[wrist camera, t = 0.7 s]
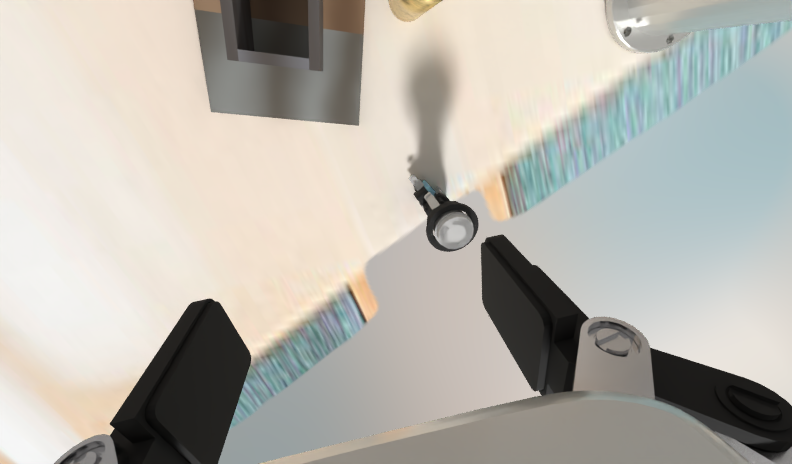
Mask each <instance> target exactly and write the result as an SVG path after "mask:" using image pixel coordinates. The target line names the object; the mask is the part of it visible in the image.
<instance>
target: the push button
mask: <svg viewBox="0 0 792 464" xmlns="http://www.w3.org/2000/svg"><path fill="white" fill-rule="evenodd" d="M409 180H410V181H411V183H412V184H413V186H414V187H415V191H416V192H415V193H414V195H415V197H416V198H417V200H418V201H419V203H420V205H421V206H422V207H423V208H424V211H425V212H426V214H427V215H428V217H427V227H426V233H427V237H428V240H429V242H430V243H431V244H432V245H433V246H434V247H435V248H436V249H438V250H441V251H447V252H448V251H449V252H450V251H456V250H459V249H461V248H463V247H465V246H466V245H468V244H469V243H470V242H471V241H472V240H473V238H474V237H475V235H476V233H477V230H478V218H477V215H476V214H475V212H474V211H473V210H472V209H471V208H470V207H468V206H467V205H464V204H461V203H458V202H456V201H449V199H448V198H447V197H446V196H445V195H444V193H443V192H442V191H441V190H440V189H439V188H438V189H439V191H438V192H437V193H436V192H435V191H434V190H433V189H432V188H431V186H430V185H429V184H428V183H427V182H426V181H425V180H424V181H423V182H422V181H421V180H420V179H419V180H418V178H417V177H416V176H415V175H414V174H412V175H411V176H410V177H409ZM437 187H438V186H437ZM462 211H464V212H466V214H467V215H466V214H464V213H463V212H462ZM433 230H434V232H435V236H434V235H433Z"/></svg>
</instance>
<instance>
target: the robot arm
mask: <svg viewBox="0 0 792 464" xmlns="http://www.w3.org/2000/svg"><path fill="white" fill-rule="evenodd" d="M606 18H607V22H608V27H609V30H610V32H611V34H612V36H613V38H614V39H615V40H616V42H617V43H618V44H619V45H620V46H621V47H623V48H624V49H626V50H628V51H631V52H634V53H651V52H658V51H661V50H664V49H667V48H669V47H671V46H673V45H674V44H676V43H678V42H679V41H681V40H682V39H683V38H685V37H686V36H687V35H689V34H690V33H691V32H694V31H703V30H712V29H720V28H729V27H738V26H747V25H756V24H764V23H773V22H782V21H791V20H792V0H606ZM481 265H482V300H483V304H484V307H485V309H486V311H487V312H488V314H489V316H490V318H491V320H492V321H493V323H494V325H495V326H496V328H497V330H498V332H499V333H500V335H501V337H502V338H503V340H504V342H505V344H506V345H507V347H508V349H509V350H510V352H511V354H512V355H513V357H514V359H515V361H516V362H517V364H518V366H519V368H520V369H521V371H522V373H523V374H524V376H525V378H526V380H527V381H528V383H529V385H530V386H531V388H532V389H533V390H534V391H538V390H539V392H540V394H541V395H542V396H538V397H532V398H528V399H523V400H519V401H514V402H510V403H505V404H501V405H496V406H492V407H487V408H483V409H479V410H474V411H470V412H466V413H462V414H458V415H454V416H450V417H445V418H441V419H437V420H433V421H429V422H425V423H421V424H417V425H413V426H408V427H404V428H400V429H396V430H392V431H388V432H384V433H380V434H376V435H372V436H368V437H364V438H359V439H356V440H351V441H347V442H343V443H339V444H335V445H331V446H327V447H323V448H319V449H315V450H311V451H307V452H303V453H299V454H295V455H291V456H287V457H283V458H280V459H275V460H271V461H268V462H263V463H260V464H792V406H791V405H790V404H789V403H788V402H787V401H786V400H784V399H783V398H782V397H780V396H779V395H778V394H776V393H775V392H773V391H772V390H770V389H768V388H766V387H765V386H763V385H761V384H759V383H756V382H754V381H751V380H749V379H746V378H743V377H740V376H737V375H734V374H731V373H727V372H725V371H721V370H718V369H715V368H712V367H709V366H705V365H703V364H699V363H696V362H693V361H690V360H687V359H684V358H681V357H678V356H674V355H671V354H668V353H665V352H662V351H658V350H655V349H652V348H650V346H649V343H648V340H647V339H646V338H645V337H644V335H643V334H642V333H641V332H640V331H639V330H637V329H636V328H635V327H633V326H632V325H630V324H628V323H626V322H624V321H621V320H618V319H615V318H610V317H594V318H591V319H589V318H588V317H587V316H586V315H585V314H584V313H583V312H582V311H581V310H580V309H579V308H578V307H577V306H576V305H575V304H574V303H573V302H572V301H571V299H570V298H569V297H568V296H567V295H566V294H565V293H563V291H562V290H561V289H560V288H559V287H558V286H557V285H556V284H555V283H554V282H553V281H552V280H551V279H550V278H549V277H548V276H547V275H546V274H545V273H544V272H543V271H542V270H541V269H540V268H539V267H538V266H536V265H532V264H531V263H530V262H529V261H528V260H527V259H526V258H525V257H524V256H523V255H522V254H521V253H520V252H519V251H518V250H517V249H516V248H515V247H514V245H513V244H512V243H511V242H510V241H509V240H508V239H507V238H506V237H505V236H504V235H498V236H493V237H488V238H486V240H485V242H484V243H482V244H481ZM250 363H251V355H250V352H249V350H248V349H247V347H246V345H245V344H244V342H243V340H242V339H241V337H240V335H239V334H238V332H237V330H236V329H235V327H234V326H233V324H232V322H231V321H230V319H229V317H228V316H227V314H226V312H225V311H224V309H223V307H222V306H221V304H220V303H219V302H215V301H214V300H213V299H205V300H201V301H196V302H192V303H191V304H190V305H189V306H188V307H187V309H186V310H185V312H184V313H183V315H182V316H181V318H180V319H179V321H178V322H177V324H176V325H175V327H174V328H173V330H172V331H171V333H170V334H169V336H168V337H167V339H166V340H165V342H164V343H163V345H162V346H161V348H160V349H159V351H158V352H157V354H156V355H155V357H154V358H153V360H152V361H151V363H150V364H149V366H148V367H147V369H146V370H145V372H144V373H143V375H142V376H141V378H140V379H139V381H138V382H137V384H136V385H135V387H134V388H133V390H132V391H131V393H130V394H129V396H128V397H127V399H126V400H125V402H124V403H123V405H122V406H121V408H120V409H119V411H118V412H117V414H116V415H115V417H114V418H113V420H112V421H111V423H110V425H111V426H113V427H114V428H115V429H114V430H113V432H112V434H111V435H110V436H109V435H105V434H102V435H96V436H93V437H91V438H88V439H86V440H84V441H82V442H81V443H79V444H77V445H76V446H74V447H73V448H71V449H70V450H69V451H68V452H66V453H65V454H64V455H62V456H61V457H60V458H59V459H58V460H57V461H56V462H55V463H54V464H218V461H219V458H220V455H221V452H222V449H223V446H224V443H225V440H226V436H227V434H228V431H229V428H230V425H231V421H232V418H233V415H234V412H235V409H236V406H237V403H238V400H239V397H240V394H241V391H242V388H243V385H244V382H245V379H246V375H247V372H248V369H249V366H250Z"/></svg>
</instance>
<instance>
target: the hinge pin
mask: <svg viewBox="0 0 792 464" xmlns="http://www.w3.org/2000/svg"><path fill="white" fill-rule="evenodd" d="M441 1H442V0H389V5H390V8H391V10H392V12H393V14H394V15H395V16H396V17H397V18H398V19H400V20H402V21H405V22H410V21H414V20H416V19H417V18H419V17H420V16H421V15H423V14H424V13H425V12H427V11H428V10H430V9H431V8H432V7H434V6H435V5H437V4H438V3H439V2H441Z"/></svg>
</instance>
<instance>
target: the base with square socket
mask: <svg viewBox="0 0 792 464" xmlns="http://www.w3.org/2000/svg"><path fill="white" fill-rule="evenodd" d="M193 2H194V9H195V15H196V21H197V27H198V33H199V40H200V46H201V52H202V58H203V65H204V71H205V77H206V83H207V90H208V96H209V102H210V108H211V112H217V113H228V114H239V115H250V116H260V117H271V118H282V119H293V120H304V121H315V122H325V123H336V124H347V125H358V126H359V111H360V92H361V72H362V53H363V33H364V14H365V0H193Z"/></svg>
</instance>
